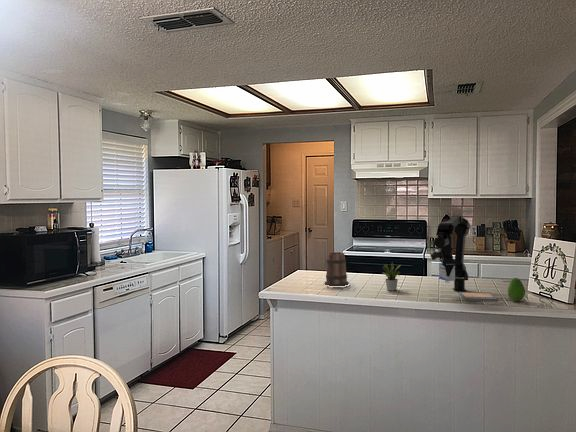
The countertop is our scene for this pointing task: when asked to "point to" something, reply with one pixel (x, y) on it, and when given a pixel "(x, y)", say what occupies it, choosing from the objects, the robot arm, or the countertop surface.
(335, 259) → the tankard
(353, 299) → the countertop surface
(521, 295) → the avocado
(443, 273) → the medicine box
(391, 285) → the house plant
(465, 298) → the mat
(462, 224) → the robot arm
